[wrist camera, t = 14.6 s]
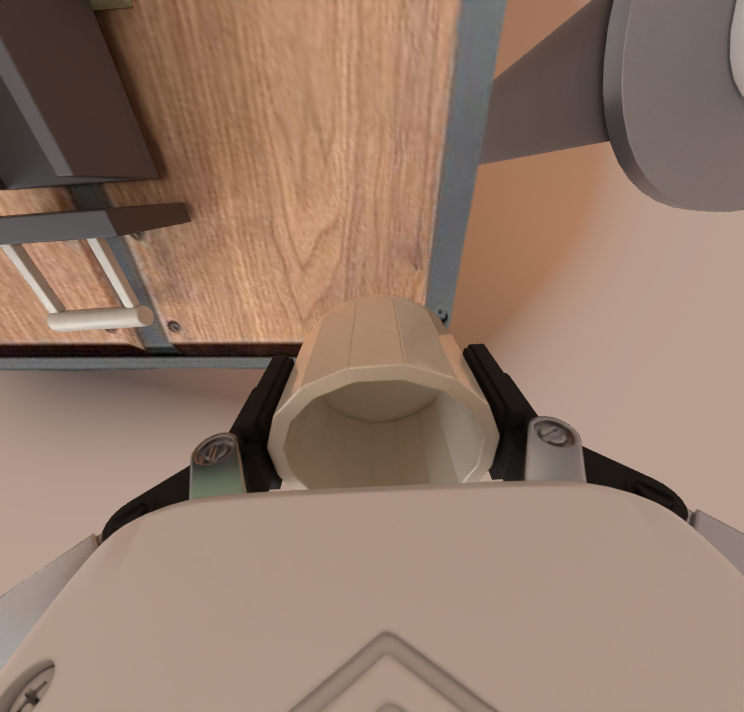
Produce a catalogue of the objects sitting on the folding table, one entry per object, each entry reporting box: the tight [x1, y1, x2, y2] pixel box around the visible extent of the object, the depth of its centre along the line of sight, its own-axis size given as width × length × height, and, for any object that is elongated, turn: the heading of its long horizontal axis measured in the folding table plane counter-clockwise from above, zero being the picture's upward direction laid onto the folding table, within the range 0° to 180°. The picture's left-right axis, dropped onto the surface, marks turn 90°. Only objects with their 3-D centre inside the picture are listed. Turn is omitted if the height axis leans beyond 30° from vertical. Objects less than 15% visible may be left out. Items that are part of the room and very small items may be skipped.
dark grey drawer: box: [0, 0, 191, 332], centre depth 15 cm, size 19×12×7 cm, turn 4°
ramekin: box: [267, 294, 500, 490], centre depth 11 cm, size 7×7×5 cm
